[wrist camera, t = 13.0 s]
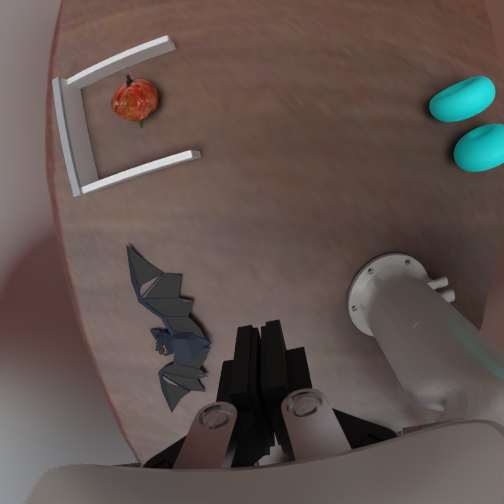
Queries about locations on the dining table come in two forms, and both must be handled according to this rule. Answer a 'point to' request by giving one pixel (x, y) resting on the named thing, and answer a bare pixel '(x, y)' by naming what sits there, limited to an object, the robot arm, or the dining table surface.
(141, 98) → the pomegranate
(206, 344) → the decorative bat
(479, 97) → the donuts
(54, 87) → the box
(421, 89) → the dining table surface
